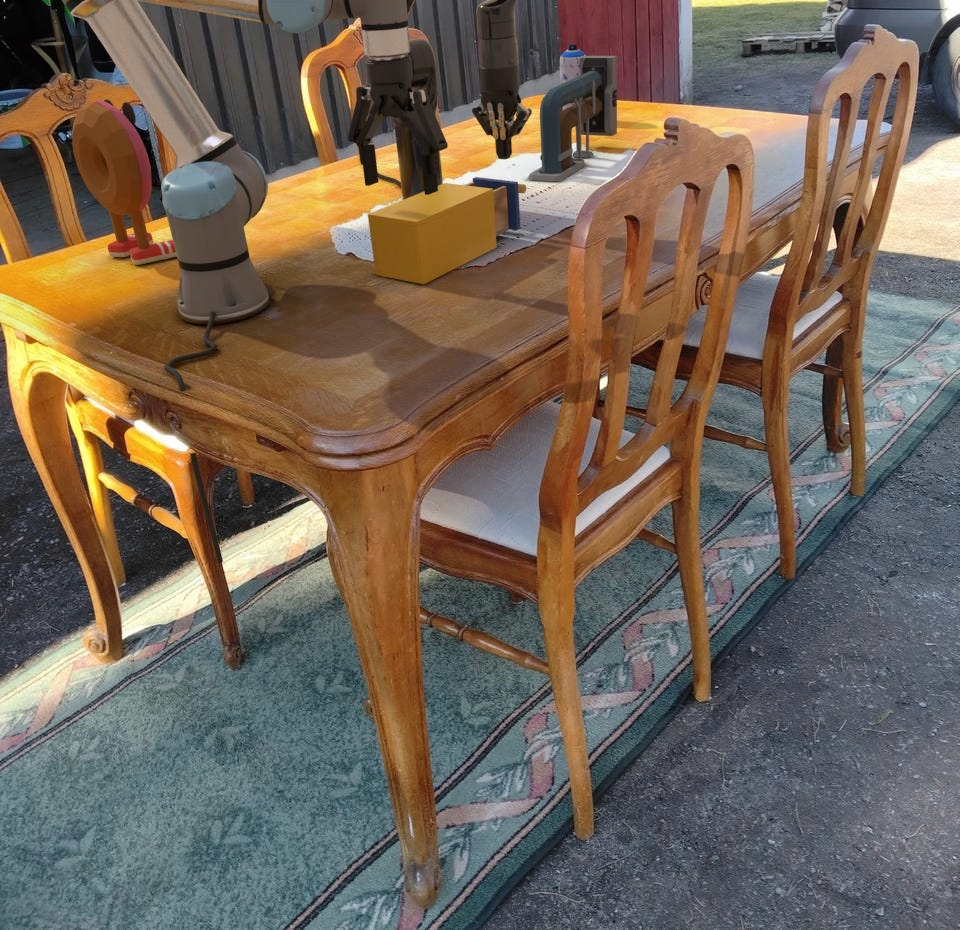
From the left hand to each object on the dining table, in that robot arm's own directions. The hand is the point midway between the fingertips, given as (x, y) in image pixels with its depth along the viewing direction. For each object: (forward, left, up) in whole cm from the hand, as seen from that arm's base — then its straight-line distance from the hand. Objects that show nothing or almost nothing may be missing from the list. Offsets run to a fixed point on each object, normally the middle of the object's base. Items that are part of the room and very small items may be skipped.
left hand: (401, 188), depth 167 cm
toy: (+5, +60, -15) cm, 62 cm away
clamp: (+79, -13, -15) cm, 82 cm away
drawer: (+19, -7, -14) cm, 25 cm away
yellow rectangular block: (+7, -3, -15) cm, 17 cm away
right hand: (+28, -11, -2) cm, 30 cm away
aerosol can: (+128, -3, -15) cm, 129 cm away
